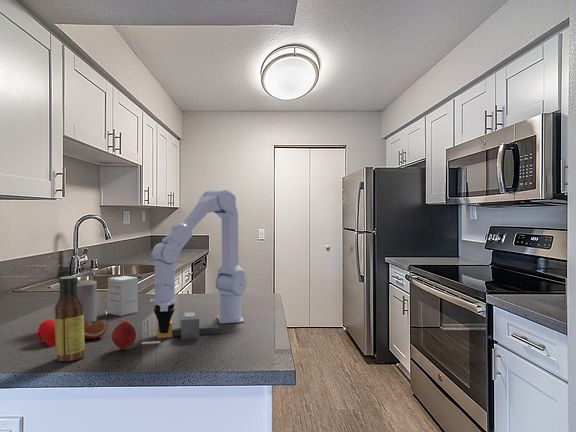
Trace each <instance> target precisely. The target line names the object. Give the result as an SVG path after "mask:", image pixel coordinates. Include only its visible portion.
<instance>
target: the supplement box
mask: <svg viewBox="0 0 576 432" xmlns="http://www.w3.org/2000/svg"><path fill="white" fill-rule="evenodd" d="M107 279H108V280H107V281H108V282H107V283H108V284H107V286H108V288H107V313H108V314H110V315H114V316H119V317H122V316H126V315H130V314H135V313H137V312H138V311H139V310H138V309H139V307H138V306H139V303H138V302H139V298H138V297H139V292H138V291H139V289H138V288H139V286H138V285H139V277H136V276H128V275H123V276H121V275H120V276H115V277H108V278H107Z"/></svg>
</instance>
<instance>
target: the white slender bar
mask: <svg viewBox="0 0 576 432" xmlns="http://www.w3.org/2000/svg"><path fill="white" fill-rule="evenodd" d="M161 343H162V342H161V340H155V341H142V342H141V344H140V345H151V344H152V345H154V344H161Z"/></svg>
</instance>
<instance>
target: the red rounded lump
mask: <svg viewBox="0 0 576 432" xmlns="http://www.w3.org/2000/svg"><path fill="white" fill-rule="evenodd" d="M120 322H121V323H119V324H118V325H117V326H116V327H115V328H114V330H113V331H112V334H111V340H112V343H113V345H114V346H116V347H117V348H119V349H120V350H121V351H125V350H127V349H128V348H129V347H131V346H132V345H133V344H134V343H135V340H136V339H137V338H136V337H137V332H136V329H135V327H134V326H133V325H132V324H131V323H130V322H128V321H127V320H126V319H124V318H122V319H121V320H120Z"/></svg>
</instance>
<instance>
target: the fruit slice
mask: <svg viewBox="0 0 576 432" xmlns="http://www.w3.org/2000/svg"><path fill="white" fill-rule="evenodd" d="M108 325H109V322H108V319H99V320H96V321H92V322H91V323H84V339H87V340H96V339H99V338H101V337H103V336H104V334H105V333H106V332H107V331H108Z"/></svg>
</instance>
